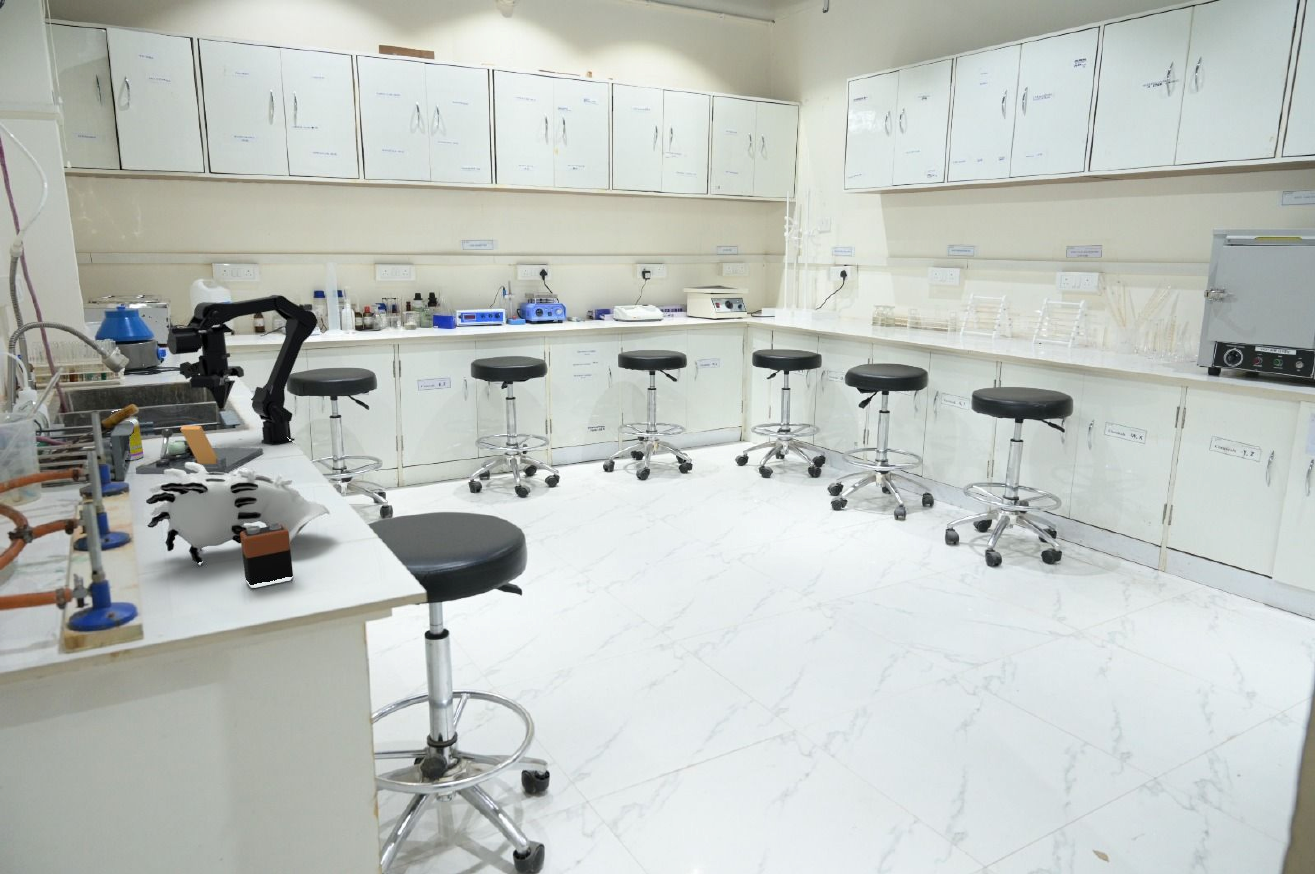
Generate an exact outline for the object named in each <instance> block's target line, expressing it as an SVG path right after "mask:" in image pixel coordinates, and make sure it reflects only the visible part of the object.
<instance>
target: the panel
mask: <svg viewBox="0 0 1315 874" xmlns="http://www.w3.org/2000/svg"><path fill="white" fill-rule="evenodd" d="M212 449H213V451H214V452H215V454H216V456H217V458H218V460H217V463H218V467H205V470H206V471H207V472H208V473H209V472H222V473H229V472H231V471H233V470H235V469H236V470H237V468H240V467H241V466H244V465H245V464H246V463H249V462H250V461H252V460H254V459H256V458H257V457H260V456H261V455H263V454H264V451H263V448H261V447H252V448H251V447H247V448H246V447H212ZM186 462H194V463H197V460H196V458H195V456H194V454H193V452H192V450H191V448H190V447H189V446H185V453H182V454H168V452H166V458H165V459H161V458H160V456H158V457H156V458H153V459H151V460H148V461H146V462H144V463H142V464H140V465H139V466H136V467H135V473H136V474H140V475H141V474H143V475H144V474H148V475H149V474H155V475H156V474H159V475H160V474H161V475H162V474H163V475H165V474H164V470H167V469H172V468H173V469H178V470H184V471H185V472H186V473H187V475H189V474H190V473H198V472H196V471H194V470H190V469H187V468H185V463H186Z"/></svg>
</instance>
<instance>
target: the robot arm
mask: <svg viewBox="0 0 1315 874" xmlns="http://www.w3.org/2000/svg"><path fill="white" fill-rule="evenodd" d="M273 311H275V312H276V313H277V314H278V315H279V316H280V317H281V318H282V319H284V320H285V326H284V331H285V333H284V334H285V337H284V340H283V343H282V345H281V348H280V350H279V352H278V356H277V357H276V360H275V363H274V365H273V368H272V370H271V372H270V375H269V378H268V379H267V382H266V383H265V385H263V386H262V387H260V386H256V388H255V391H254V395H253V397H251V398H250V400H251V401H252V402H251V408H252V410H253V412H254V413H255V414H257V415H258V417H259V419H261V420H262V426H263V427H262V428H261V430H262V439H261V440H260V441H261V443H263V444H270V445H275V446H276V445H281V444H283V443H284V444H285V443H288V442H292V441H293V442H294V441H295V438H293V437H292V434H291V424H290V422H291V421H292V418H293V413H292V412H291V411H290V410H289V409H287V408H286V407H284V406H285V401H286V396H285V395H286V394H285V388H286V386H287V383H288V381H289V378H290V376H291V374H292V372H293V369H294V365H295V363H296V361H297V358H298V356H299V353H300V351H301V349H302V345H303V343H305V341H306V340H307V339H309V337H310V336H312V334H313V332H314V330H315V329H316V327H317V325H318V319H317V316H316V315H315V313H314V312H313V311H311V310H308V309H307V310H306V309H304V308H303V307H301V306H299V304H296V303H295V302H293V301H290V300H289V299H288V298H286V296H283V295H280V294H279V295H278V294H272V295H269V296H264V297H263V296H262V297H257V298H250V299H246V300H240V301H233V302H214V301H213V302H212V301H211V302H205V301H204V302H201V303H200V302H199V303H197V304H196V306H195V308H194V311H193V315H192V317H191V319H190V321H189V322H188V324H187V325H186V326H185V327H169V328H168V333H167V334H168V335H167V340H166V343H167V348H168V350H169V352H170V354H172V356H173V355H181V354H182V355H184V354H193V353H198V352H199V350H201V353H202V354H201V355H199V356H198V361H197V362H193V363H190V362H189V361H185V362H183V363H180V364H179V375H182V376H183V377H184V378H185V380H188V379H189V381H188V382H189V387H190V388H192V389H193V388H194V389H195V388H196V389H197V388H198V389H200V388H205V389H207V390H209V392H210V393H211V395H212V398H213V400H215V403H216V405H217V407H218V409H220V410H221V409H225V407H226V404H227V402H228V400H229V399H228V398H229V395H230V393H231V391H232V389H233V386H234V384H235V383H236V380H234V379H233V380H231V379H230V378H229V377H237V378H242V377H244V376H245V373H244V371H245V370H244V369H243V367H241V366H240V365H229V360H228V358H230V357H231V353H230V352H227V344H226V336H225V333H226V334H227V333H233V332H234V331H233V329H232V328H230V327H229V326H228V325H227V323H228V322H230V321H232V320H234V319H236V318H239V317H243V316H245V317H246V316H249V315H255V314H256V315H257V314H261V313H267V312H273ZM287 437H288V438H289V439H291V441H289V439H288V438H287ZM287 441H288V442H287Z"/></svg>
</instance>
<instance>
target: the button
mask: <svg viewBox="0 0 1315 874" xmlns="http://www.w3.org/2000/svg"><path fill="white" fill-rule="evenodd" d="M176 441H177V442H175V441H171V442H168V447H167V453H168V454H182V453H185V444H184V442H182V441H181V440H176Z"/></svg>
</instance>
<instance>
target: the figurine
mask: <svg viewBox="0 0 1315 874" xmlns="http://www.w3.org/2000/svg"><path fill="white" fill-rule="evenodd" d="M185 468H187V469H190V470H194V471H196V472H198V473H190V474H187V473H186V472H185V471H184V470H178V469H173V468H172V469H167V470H164V474H163V475H165V476H169V477H170V476H171V477H173V476H175V477H176V478H179V482H165V483H157V484H155V485H154V486H153V487H151V488H149V489H148V490H149V492H150V493H153V495H152V496H151V497H149V498H147V499H146V502H145V503H146V504H148V505H153V504H154V505H155V504H156V503H158V502H161V504H160V505H155V507H154V509H153V510H152V511H151V512H150V516H154V517H152V518H151V521H150V522H149V523H148V524H147V528H152V529H153V528H155V527H156V526H158V524H159V522H163V521H164V520H168V521H167V522H168V527H167V530H166V534H167V536H166V540H165V542H164V543H165V544H166V547H167V548H166V549H167V552H172V550H174V547H175V543H174V541H175V540H176V536H178V537H180V538H181V539H183V540H184V541H185V542H187V543H188V544H189V545H190V547H189V550H188V552H189V553H190V556H191V559H192V561H193V562H195V563H196V562H197V563H196V564H198V563H199V562H202V561H203V557H201V556H199V555H200V553H199V551H201V550H203V549H204V548H207V547H217V546H221V545H223V544H225V543H227V542H229V541H234V542H236V543H238V544H241V537H240V533H241V532H242V531H246V528H247V527H250V526H252V525H251V524H253V523H257V522H260V523H263V524H265V527H268V526H270V524H273V523H280V524H281V525H283V526H284V527H285V528H286V529H287V530H288V532H289V540H290V542H291V541H292V540H294V538H295V537H296V536H297V535H298V534H299V533H300V532H301V531H302V530H303V529H304V528H305V526H307V525H308V523H310V522H311V521H312V520H314V519H315V518H318V517H320V516H322V515H325V514H328V515H330V511H329V510H328V508H327V507H326V506H325V505H324V504H321V503H318V502H315V501H309V500H307V499H305V497H303V496H301V494H300V493H299V492H300V491H298V490H297V489H294V488H293V487H290V486H289V485H291V484H292V483H293V479H291V478H290V479H285V478H283V476H282V475H281V474H276V479H274V478H271V477H268V476H265V475H261V474H260V475H258V474H257V472H256V470H252V469H250V468H246V467H241V468H239V469H236V470H235V471H233V472H232V473H229V472H228V473H222V472H209V473H208V472H207V471H206V470H205V467H204V466H203V465H200V464H197V463H194V462H186V463H185ZM160 491H162V492H161V493H158V492H160ZM154 493H156V494H154ZM162 502H163V503H162ZM244 524H250V525H244ZM202 548H203V549H202ZM200 549H201V550H200ZM203 562H204V561H203Z"/></svg>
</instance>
